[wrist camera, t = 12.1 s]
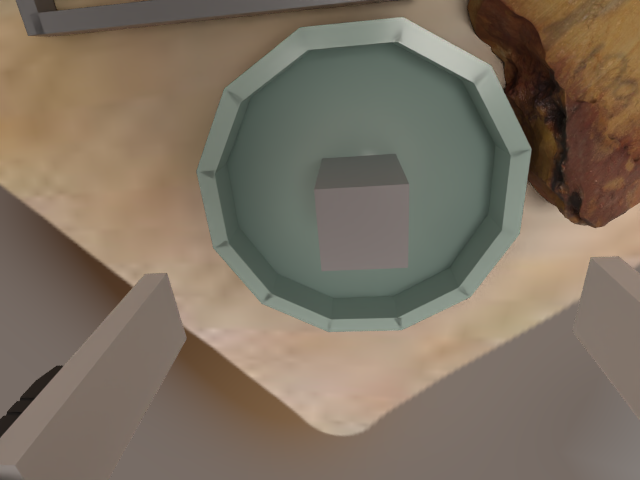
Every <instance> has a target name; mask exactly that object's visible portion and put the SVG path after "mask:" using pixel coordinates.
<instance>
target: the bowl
mask: <svg viewBox="0 0 640 480" xmlns="http://www.w3.org/2000/svg"><path fill="white" fill-rule="evenodd" d="M531 150H532V149H531V147H530V145H529V143H528V141H527V139H526V136H525V134H524V132H523V130H522V128H521V126H520V124H519V122H518V120H517V118H516V116H515V114H514V112H513V109H512V107H511V105H510V103H509V101H508V99H507V97H506V95H505V93H504V91H503V89H502V87H501V85H500V83H499V80H498V78H497V76H496V74H495V72H494V70H493V68H492V66H491V65H489V64H488V63H486V62H484V61H482V60H480V59H478V58H477V57H475V56H473V55H471V54H469V53H468V52H466V51H464V50H462V49H460V48H459V47H457V46H455V45H453V44H451V43H449V42H448V41H446V40H444V39H442V38H440V37H439V36H437V35H435V34H433V33H431V32H429V31H428V30H426V29H424V28H422V27H420V26H419V25H417V24H415V23H413V22H411V21H409V20H408V19H406V18H404V17H398V18H388V19H378V20H368V21H358V22H348V23H338V24H328V25H318V26H308V27H300V28H299V29H297V30H296V31H295V32H294V33H292V34H291V35H290V36H289V37H287V38H286V39H285V40H284V41H283V42H281V43H280V44H279V45H278V46H276V47H275V48H274V49H273V50H271V51H270V52H269V53H268V54H266V55H265V56H264V57H263V58H261V59H260V60H259V61H258V62H257V63H255V64H254V65H253V66H252V67H250V68H249V69H248V70H247V71H245V72H244V73H243V74H242V75H240V76H239V77H238V78H237V79H235V80H234V81H233V82H232V83H231V84H229V85H228V86H227V87H226V88H224V91H223V94H222V97H221V100H220V103H219V106H218V109H217V112H216V115H215V118H214V120H213V123H212V126H211V129H210V132H209V135H208V138H207V141H206V144H205V147H204V150H203V153H202V156H201V159H200V162H199V165H198V168H197V171H196V172H197V176H198V181H199V185H200V190H201V194H202V199H203V203H204V208H205V213H206V217H207V222H208V226H209V231H210V235H211V240H212V244H213V248H214V249H215V250H216V252H217V253H218V254H219V255H220V256H221V257H222V259H223V260H224V261H225V262H226V263H227V264H228V265H229V267H230V268H231V269H232V270H233V271H234V272H235V273H236V275H237V276H238V277H239V278H240V279H241V280H242V281H243V283H244V284H245V285H246V286H247V287H248V288H249V290H250V291H251V292H252V293H253V294H254V295H255V296H256V298H257V299H258V300H259V301H260V302H261V303H262V304H264V305H266V306H269V307H271V308H273V309H276V310H278V311H280V312H283V313H285V314H287V315H290V316H292V317H294V318H297V319H299V320H302V321H304V322H306V323H309V324H311V325H313V326H316V327H318V328H320V329H323V330H325V331H329V332H345V331H387V330H403V329H405V328H407V327H409V326H411V325H413V324H416V323H418V322H420V321H422V320H424V319H426V318H428V317H430V316H432V315H434V314H436V313H438V312H440V311H443V310H445V309H447V308H449V307H451V306H453V305H455V304H457V303H459V302H461V301H463V300H465V299H467V298H469V297H471V296H472V294H473V293H474V292H475V290H476V289H477V288H478V287H479V285H480V284H481V283H482V282H483V280H484V279H485V278H486V276H487V275H488V274H489V273H490V271H491V270H492V269H493V267H494V266H495V265H496V264H497V262H498V261H499V260H500V258H501V257H502V256H503V255H504V253H505V252H506V251H507V249H508V248H509V247H510V246H511V244H512V243H513V242H514V241H515V239H516V238H517V237H518V235H519V234H520V228H521V221H522V214H523V207H524V200H525V193H526V186H527V179H528V172H529V164H530V157H531ZM383 154H396V155H397V158H398V160H399V162H400V164H401V167H402V169H403V171H404V173H405V176H406V178H407V180H408V182H409V241H408V268H391V269H364V270H338V271H321V260H320V249H319V238H318V228H317V217H316V206H315V195H314V188H315V184H316V180H317V176H318V172H319V168H320V165H321V161H322V158H337V157H352V156H368V155H383Z"/></svg>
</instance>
